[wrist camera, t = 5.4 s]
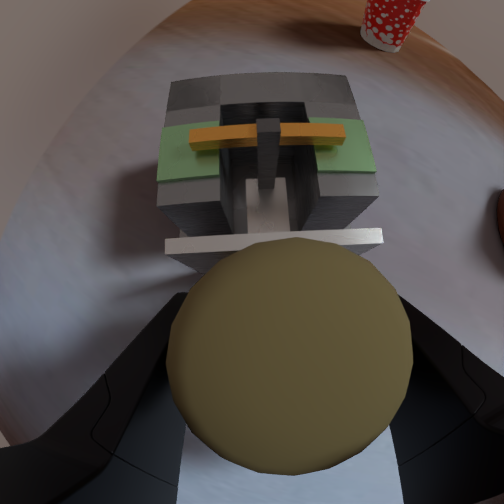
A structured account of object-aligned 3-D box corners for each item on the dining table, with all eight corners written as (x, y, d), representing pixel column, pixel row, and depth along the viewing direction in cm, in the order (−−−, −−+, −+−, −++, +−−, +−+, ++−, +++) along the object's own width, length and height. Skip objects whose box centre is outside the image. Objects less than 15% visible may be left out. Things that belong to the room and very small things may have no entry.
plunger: (328, 270, 16) (388, 240, 8) (208, 277, 16) (160, 252, 8) (320, 198, 17) (362, 120, 9) (207, 203, 17) (168, 127, 9)
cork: (195, 338, 15) (69, 390, 4) (260, 251, 15) (262, 130, 5) (282, 400, 14) (319, 543, 3) (347, 314, 15) (496, 316, 4)
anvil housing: (346, 236, 17) (398, 194, 9) (183, 245, 17) (135, 206, 10) (332, 146, 18) (361, 74, 11) (186, 152, 18) (154, 82, 11)
